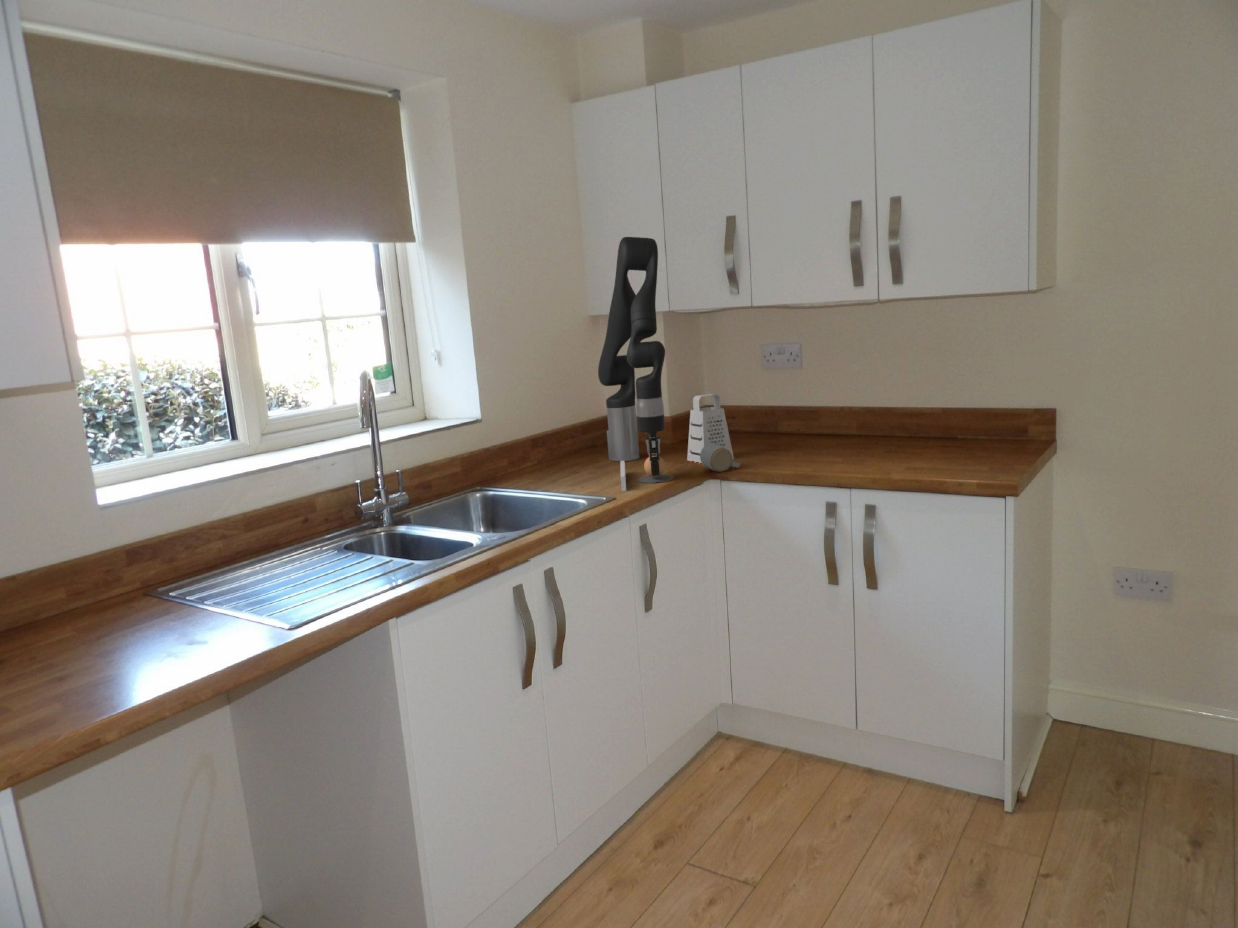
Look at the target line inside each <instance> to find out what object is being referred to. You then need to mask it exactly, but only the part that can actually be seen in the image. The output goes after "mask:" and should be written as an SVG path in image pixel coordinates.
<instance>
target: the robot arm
mask: <svg viewBox="0 0 1238 928" xmlns="http://www.w3.org/2000/svg"><path fill="white" fill-rule="evenodd" d="M618 244H619V245H618V249H617V256H616V258H617V259H616V267H615V278H614V287H613V292H612V297H611V302H610V307H609V312H608V317H607V318H608V319H607V327H606V334H605V338H604V339H605V340H604V343H603V346H602V351H601V354H600V358H599V362H598V368H597V369H598V370H597V371H598V372H597V374H598V375H597V377H598V381H599V383H600V384H601V385H602V386H604V387H613V386H620V387H619V390H618V391H617V392H616V393H614V394H612V395H610V396H609V397H607V398H606V399H605V401H606V402H605V404H606V416H607V425H608V426H607V428H608V429H607V430H606V438H607V439H606V440H607V441H606V442H607V452H608V460H610V461H613V462H620V461H625V462H628V461H635V460H638V459H640V449H639V448H640V447H639V445H640V443H639V434H638V432H640V433H647V435H646V437H644V438H645V445H646V450H647V455H648V458H649V457H650V463H651V472H652V475H653V476H657V475H659V474H660V472H659V461H660V460H659V459H660V458H659V457H660V453H661V447H660V444H661V438H660V436H659V435H657V433H658V432H662V431H665V429H666V419H665V408H664V400H663V393H662V391H663V390H662V374H663V368H664V367H663V366H664V363H665V359H666V358H665V357H666V348H665V346H664V344H663V343H662V342H661V341H659V340H651V341H643V340H646V339H649V338H651V337H653V336H654V335H656V333H657V331H658V329H657V328H658V326H657V325H658V323H657V312H656V311H657V310H656V300H657V299H656V297H657V296H656V294H657V283H658V265H659V264H658V263H659V261H658V260H659V250H658V249H659V248H658V243H657V242H656V240H655V239H654V238H652V237H651V238H650V237H639V236H637V237H636V236H623V237H622V238H621V240H620V241H619V243H618ZM629 271H638V272H640V271H643V272H645V278H644V281H643V284H642V285H641V287H640V289H639V290H638V291H637V292H636V293H635V290H634V289H633V287H632V285H631V283H630V280H629V277H628V273H629ZM628 341H629V343H628V346H627V351H626V354H623V355H619V353H620V350H621V349H622V348H623V346H624V345H625V344H626V343H627V342H628ZM642 368H652V371H651V373H648V374H647V375H643V376H640V377H637V378H636V376H635V375H636V374H635V373H636V372H635V369H642ZM652 456H657V457H652Z"/></svg>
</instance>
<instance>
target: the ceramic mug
mask: <svg viewBox="0 0 1238 928" xmlns="http://www.w3.org/2000/svg"><path fill="white" fill-rule="evenodd" d="M700 460H701V463H702V464H701V465H703V466H704V467H705V468H706V469H709V470H711V471H714V472H715V473H716V472H717V473H723V472H726V471H727V470H729V469H730V468H731V467H732V468H735V469H739V468H740V466H741V462H738V461H736V460H735V459H732V455H731V453H730V451H729V450H728V449H726V448H725V447H723V446H721V445H719V444H717V443H708V444H706V445H705V446H704V447H703V448H702V450H701V453H700Z"/></svg>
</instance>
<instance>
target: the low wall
mask: <svg viewBox="0 0 1238 928" xmlns="http://www.w3.org/2000/svg"><path fill="white" fill-rule="evenodd" d="M619 462H620V463H619V464H620V466H619V467H620V486H621V487H620V488H621V492H627V477H626V464H625V462H626V461H619Z"/></svg>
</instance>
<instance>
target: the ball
mask: <svg viewBox="0 0 1238 928" xmlns="http://www.w3.org/2000/svg"><path fill="white" fill-rule="evenodd" d="M652 457H657V456H652ZM659 458H660V459H659V460H660V461H659V472H660V474H659V475H657V476H653V475H652V472H651V463H650V457H649V456H648V457H647V458H646V459H645V461H644V463H643V464H644V465H643V469H644V471H645V473H646V474H647V476H652V477H658V476H660V475H664V472H665V470H666V462H665V461H664V459H663V458H662V457H660V456H659Z"/></svg>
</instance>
